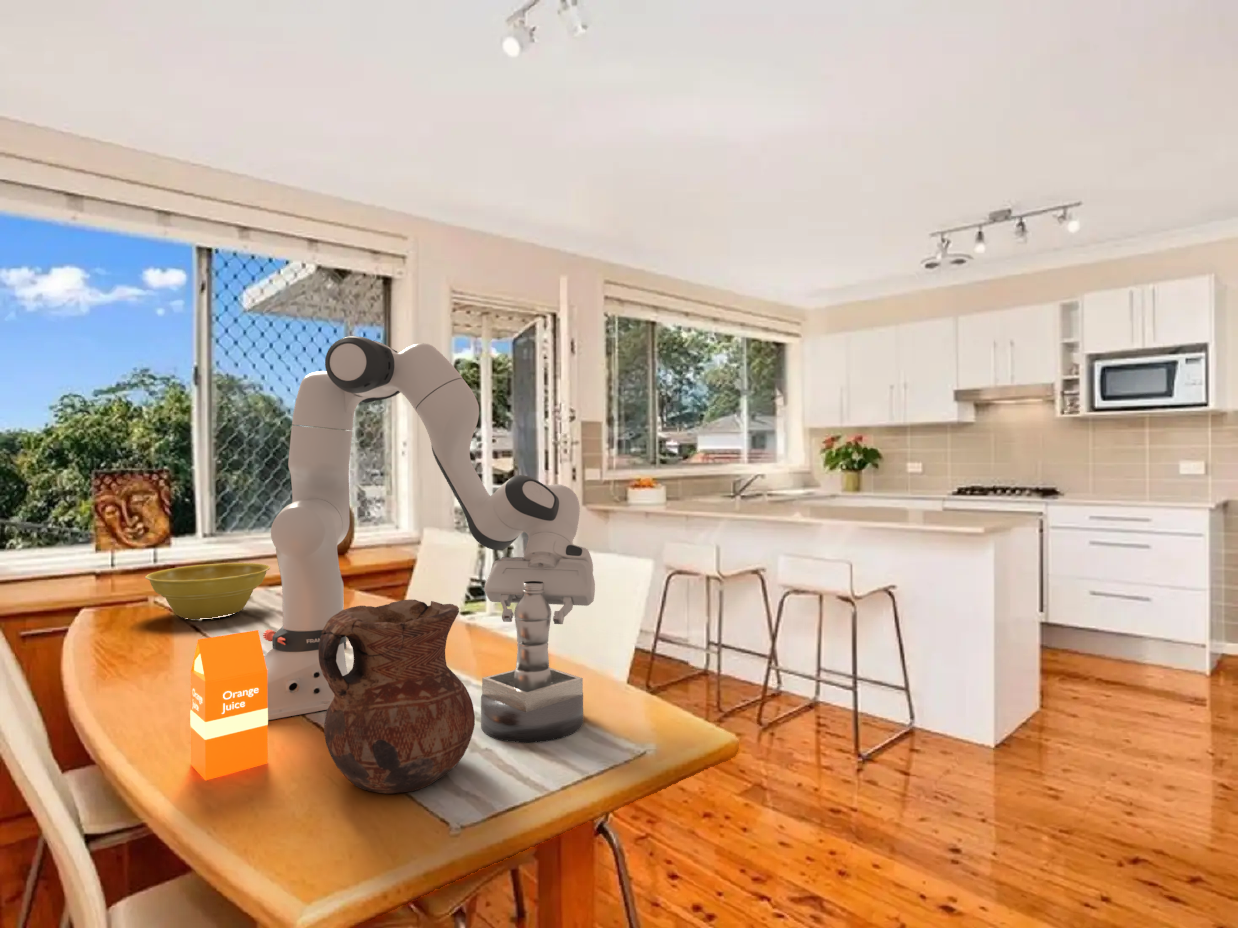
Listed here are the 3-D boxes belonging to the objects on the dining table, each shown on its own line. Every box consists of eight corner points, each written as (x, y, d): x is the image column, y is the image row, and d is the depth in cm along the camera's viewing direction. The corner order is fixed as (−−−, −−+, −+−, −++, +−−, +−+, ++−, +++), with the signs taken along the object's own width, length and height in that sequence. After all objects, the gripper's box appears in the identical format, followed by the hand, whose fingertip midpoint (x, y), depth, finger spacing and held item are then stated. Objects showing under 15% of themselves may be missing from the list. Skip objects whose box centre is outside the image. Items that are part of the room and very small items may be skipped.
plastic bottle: (544, 702, 127) (546, 586, 127) (507, 698, 128) (509, 584, 128) (555, 690, 133) (557, 580, 133) (520, 687, 135) (521, 578, 134)
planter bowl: (116, 626, 204) (116, 577, 204) (201, 603, 235) (200, 561, 235) (221, 631, 198) (220, 581, 198) (293, 606, 230) (292, 563, 230)
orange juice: (268, 763, 114) (267, 634, 113) (205, 780, 108) (204, 644, 107) (251, 748, 119) (250, 625, 119) (190, 764, 113) (189, 634, 113)
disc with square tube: (522, 751, 118) (522, 702, 118) (455, 720, 132) (455, 675, 132) (604, 722, 131) (604, 677, 131) (535, 696, 145) (535, 656, 145)
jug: (394, 737, 124) (393, 589, 124) (501, 757, 116) (501, 599, 116) (289, 793, 104) (288, 616, 103) (410, 822, 96) (410, 630, 95)
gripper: (490, 546, 140) (471, 608, 130) (596, 549, 136) (584, 613, 126) (498, 566, 144) (480, 628, 134) (601, 570, 140) (590, 633, 131)
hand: (531, 621), depth 130 cm, fingers open, 8 cm apart
